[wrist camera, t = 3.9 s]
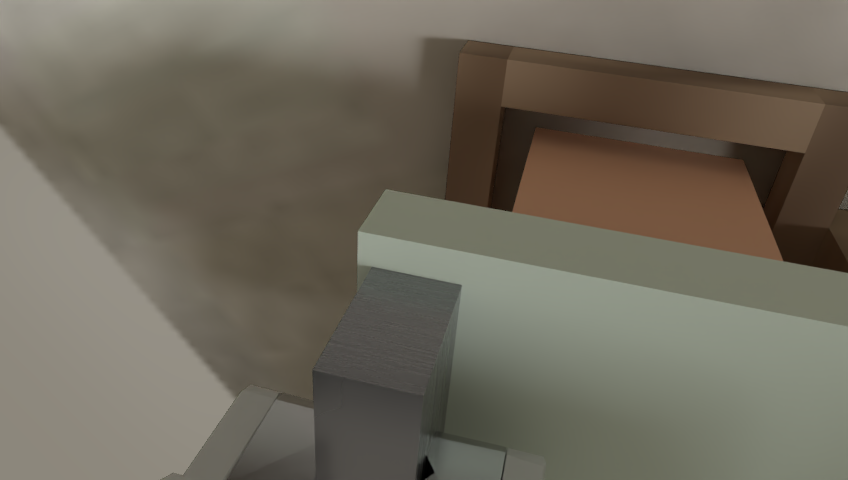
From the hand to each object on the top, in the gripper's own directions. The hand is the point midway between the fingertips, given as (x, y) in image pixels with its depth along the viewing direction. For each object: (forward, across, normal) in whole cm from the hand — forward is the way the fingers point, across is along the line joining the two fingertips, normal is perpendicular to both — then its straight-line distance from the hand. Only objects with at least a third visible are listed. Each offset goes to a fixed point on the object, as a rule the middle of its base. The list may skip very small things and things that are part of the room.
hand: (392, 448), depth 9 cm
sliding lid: (+2, -4, 0) cm, 5 cm away
